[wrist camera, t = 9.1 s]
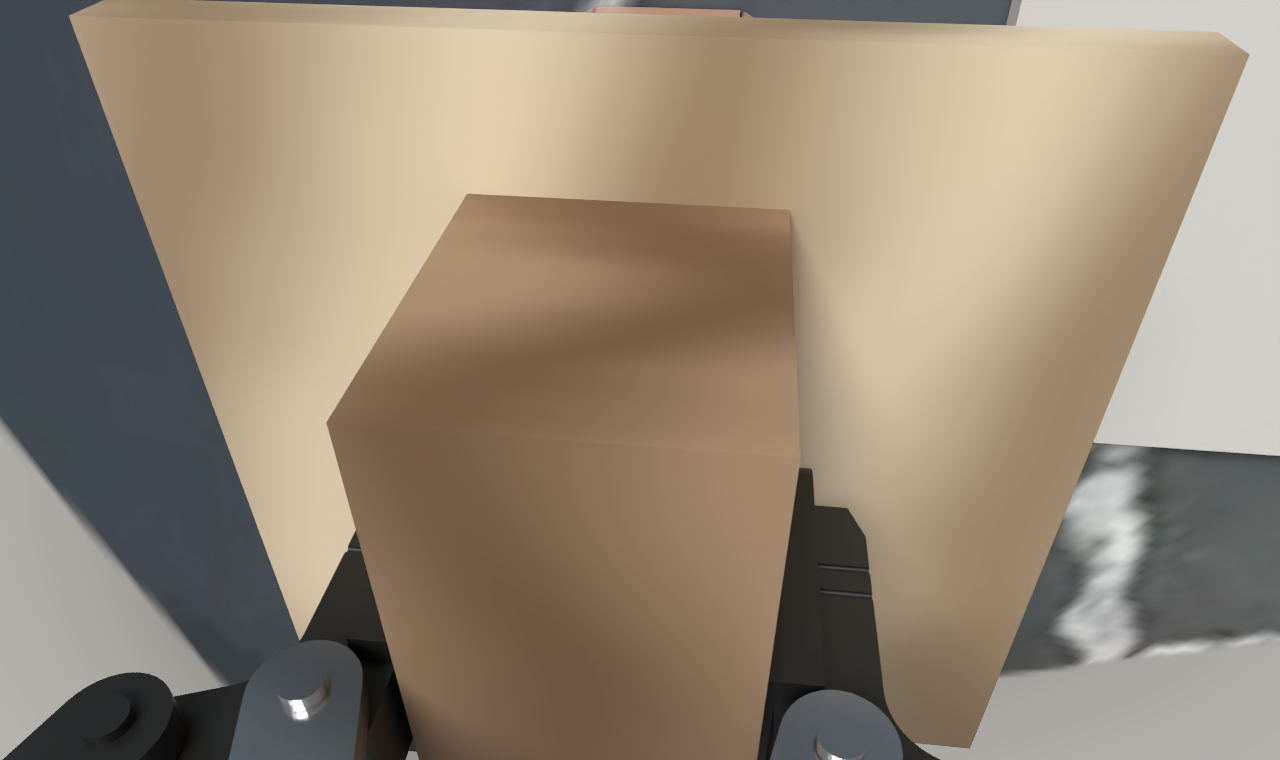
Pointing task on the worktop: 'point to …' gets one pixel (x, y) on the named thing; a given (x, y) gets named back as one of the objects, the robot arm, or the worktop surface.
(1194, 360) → the mat
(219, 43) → the lid
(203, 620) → the worktop surface
